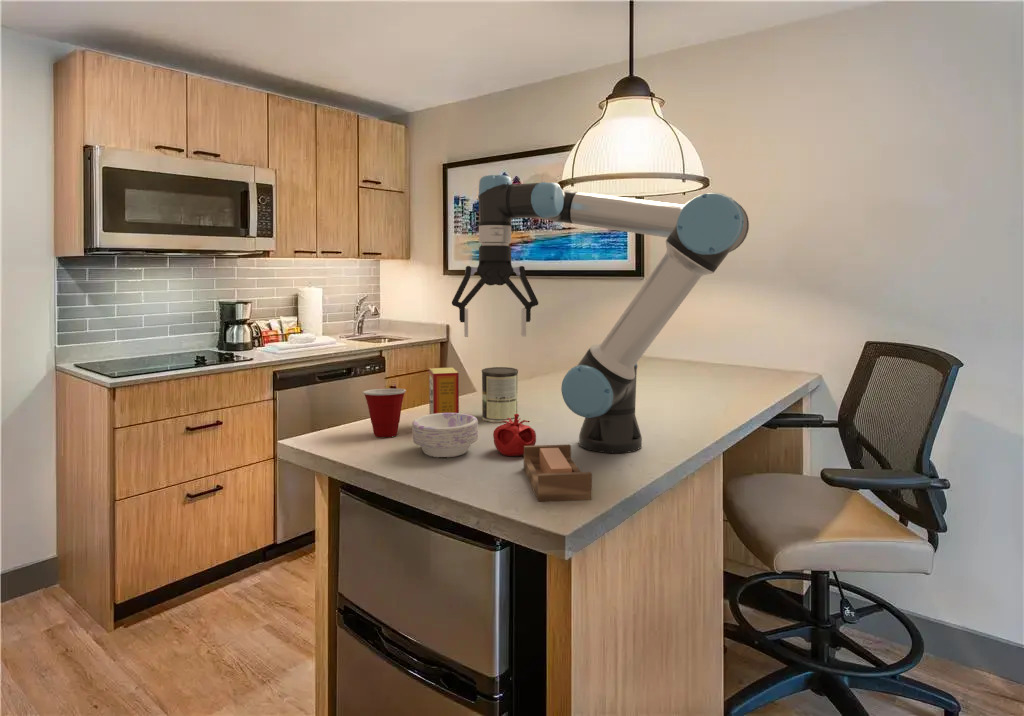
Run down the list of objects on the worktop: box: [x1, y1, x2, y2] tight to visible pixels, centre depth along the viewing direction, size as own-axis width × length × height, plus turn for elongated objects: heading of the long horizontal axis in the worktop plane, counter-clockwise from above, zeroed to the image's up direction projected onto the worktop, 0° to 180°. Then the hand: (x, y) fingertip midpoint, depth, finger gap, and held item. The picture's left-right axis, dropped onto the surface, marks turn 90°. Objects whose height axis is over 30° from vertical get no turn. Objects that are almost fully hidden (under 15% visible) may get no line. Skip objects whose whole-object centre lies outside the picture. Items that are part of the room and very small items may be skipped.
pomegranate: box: [492, 413, 537, 457], centre depth 151 cm, size 10×10×9 cm
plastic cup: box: [362, 388, 407, 438], centre depth 165 cm, size 11×11×12 cm
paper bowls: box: [411, 413, 479, 458], centre depth 151 cm, size 15×15×8 cm
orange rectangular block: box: [539, 448, 572, 473], centre depth 130 cm, size 14×4×4 cm, turn 7°
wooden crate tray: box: [523, 444, 593, 503], centre depth 130 cm, size 20×10×5 cm, turn 7°
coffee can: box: [481, 366, 519, 424], centre depth 184 cm, size 10×10×14 cm
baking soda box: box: [428, 367, 460, 415], centre depth 173 cm, size 10×6×16 cm
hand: (495, 336), depth 153 cm, fingers open, 13 cm apart
